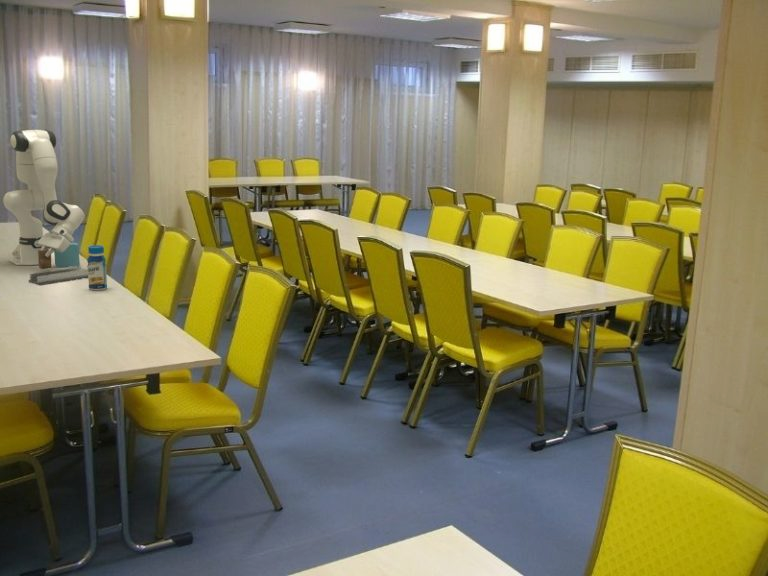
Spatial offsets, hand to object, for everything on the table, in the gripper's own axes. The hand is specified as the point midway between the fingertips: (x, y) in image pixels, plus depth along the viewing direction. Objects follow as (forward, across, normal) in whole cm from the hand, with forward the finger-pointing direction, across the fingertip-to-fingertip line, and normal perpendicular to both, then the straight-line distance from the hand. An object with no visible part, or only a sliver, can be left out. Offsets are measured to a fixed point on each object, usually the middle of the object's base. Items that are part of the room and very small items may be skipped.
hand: (43, 255), depth 409 cm
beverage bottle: (+5, +44, +8) cm, 45 cm away
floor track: (+7, +14, +7) cm, 17 cm away
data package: (-7, -14, +22) cm, 27 cm away
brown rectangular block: (+4, 0, +5) cm, 6 cm away
